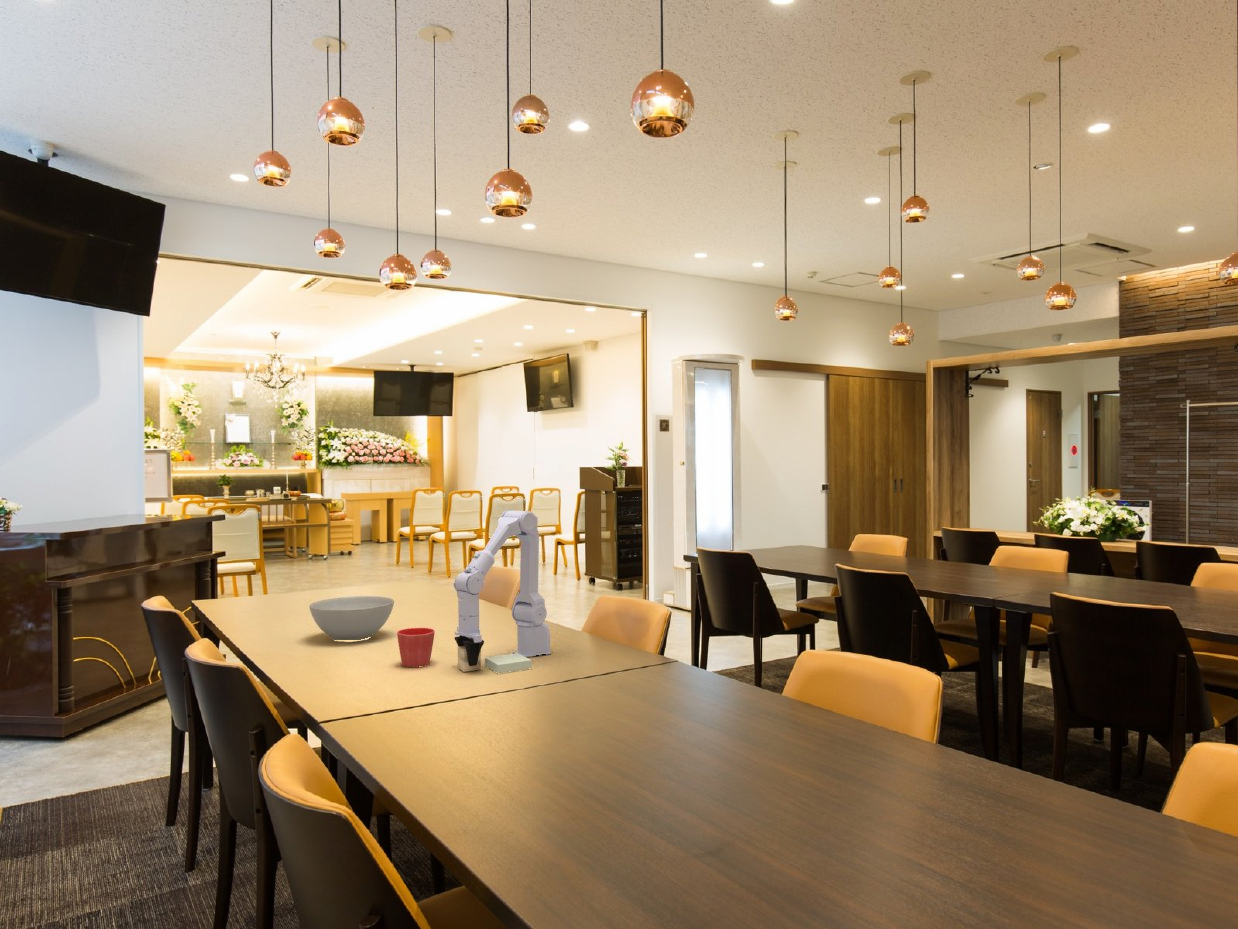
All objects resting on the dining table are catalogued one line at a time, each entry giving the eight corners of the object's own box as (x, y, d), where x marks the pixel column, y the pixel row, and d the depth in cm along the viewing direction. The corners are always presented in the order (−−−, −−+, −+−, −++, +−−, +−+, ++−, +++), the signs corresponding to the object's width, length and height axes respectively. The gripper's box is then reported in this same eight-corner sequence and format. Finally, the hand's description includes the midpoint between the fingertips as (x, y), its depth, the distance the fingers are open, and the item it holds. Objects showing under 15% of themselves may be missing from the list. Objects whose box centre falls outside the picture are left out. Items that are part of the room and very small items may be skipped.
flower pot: (440, 660, 240) (439, 627, 240) (427, 669, 229) (427, 635, 229) (405, 659, 241) (405, 626, 241) (391, 669, 230) (391, 634, 230)
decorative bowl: (306, 635, 278) (306, 599, 278) (387, 628, 289) (387, 593, 289) (313, 651, 253) (312, 612, 253) (400, 642, 265) (400, 605, 265)
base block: (517, 663, 237) (517, 653, 237) (531, 670, 229) (531, 660, 229) (484, 668, 232) (484, 657, 232) (498, 675, 224) (498, 665, 224)
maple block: (474, 665, 232) (474, 644, 232) (481, 669, 228) (480, 648, 228) (457, 668, 230) (457, 646, 230) (463, 671, 225) (463, 650, 225)
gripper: (446, 612, 233) (447, 660, 233) (463, 620, 220) (464, 671, 221) (470, 610, 237) (470, 657, 237) (488, 618, 224) (489, 667, 224)
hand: (469, 663), depth 229 cm, fingers closed on maple block, 5 cm apart
